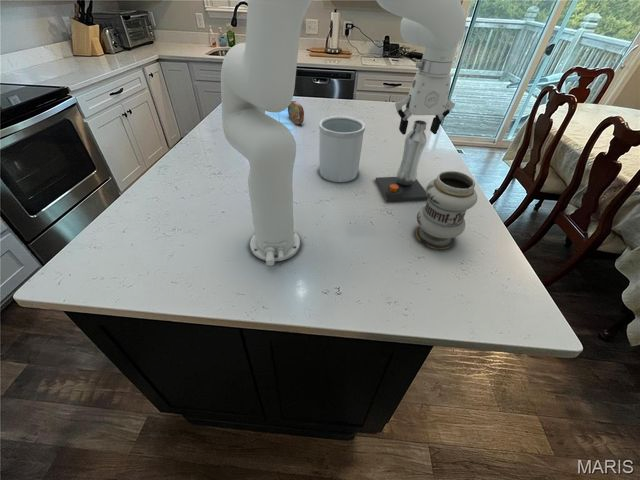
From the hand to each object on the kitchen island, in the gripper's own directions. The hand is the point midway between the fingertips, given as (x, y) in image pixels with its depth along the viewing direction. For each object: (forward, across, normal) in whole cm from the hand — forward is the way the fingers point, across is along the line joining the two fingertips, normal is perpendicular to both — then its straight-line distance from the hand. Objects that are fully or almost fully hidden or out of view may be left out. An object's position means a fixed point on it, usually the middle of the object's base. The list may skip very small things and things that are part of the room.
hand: (417, 132), depth 88 cm
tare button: (+16, -6, -6) cm, 18 cm away
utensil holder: (+19, -21, +11) cm, 30 cm away
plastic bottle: (+17, 0, 0) cm, 17 cm away
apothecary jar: (+19, -1, -26) cm, 32 cm away
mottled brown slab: (+19, -32, +62) cm, 72 cm away
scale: (+18, -2, -2) cm, 19 cm away
